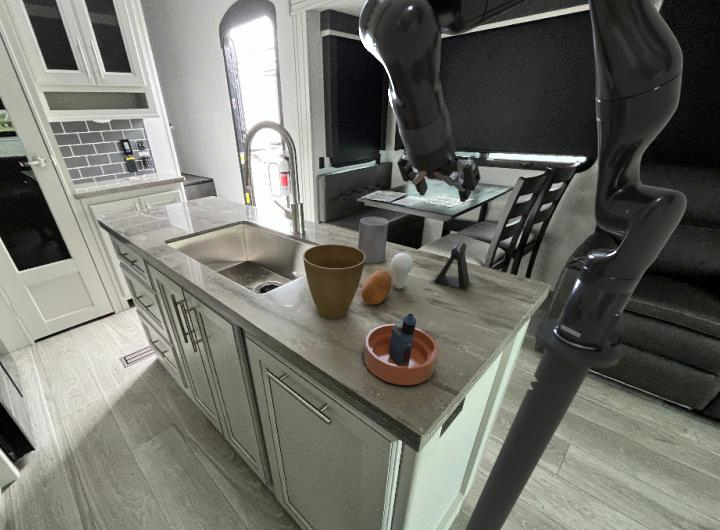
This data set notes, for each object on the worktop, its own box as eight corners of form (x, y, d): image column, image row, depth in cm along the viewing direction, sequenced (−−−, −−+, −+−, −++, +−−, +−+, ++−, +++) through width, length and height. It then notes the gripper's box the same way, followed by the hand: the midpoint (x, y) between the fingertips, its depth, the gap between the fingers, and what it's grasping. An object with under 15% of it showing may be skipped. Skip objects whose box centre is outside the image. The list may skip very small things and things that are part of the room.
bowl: (445, 361, 67) (450, 342, 65) (412, 400, 58) (416, 379, 56) (387, 334, 76) (389, 316, 73) (350, 364, 67) (351, 345, 64)
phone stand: (433, 282, 98) (441, 245, 92) (439, 275, 103) (446, 239, 97) (464, 290, 94) (474, 251, 88) (468, 282, 98) (478, 245, 92)
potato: (393, 289, 95) (399, 269, 90) (379, 313, 86) (384, 292, 81) (370, 282, 97) (375, 262, 93) (354, 304, 88) (358, 283, 83)
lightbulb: (410, 294, 92) (415, 258, 87) (388, 292, 93) (392, 256, 88) (408, 284, 97) (414, 250, 92) (388, 282, 98) (392, 248, 93)
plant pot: (299, 325, 79) (297, 265, 71) (309, 295, 92) (308, 242, 83) (360, 330, 77) (365, 269, 69) (362, 299, 90) (366, 245, 82)
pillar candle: (360, 252, 120) (362, 211, 112) (386, 255, 117) (391, 214, 110) (354, 262, 112) (356, 219, 104) (382, 265, 109) (387, 222, 102)
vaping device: (400, 370, 64) (408, 320, 58) (386, 354, 68) (392, 306, 62) (411, 366, 65) (420, 317, 59) (396, 351, 69) (403, 303, 63)
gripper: (482, 114, 48) (488, 183, 61) (398, 114, 56) (419, 175, 69) (460, 156, 47) (471, 217, 60) (378, 150, 56) (403, 205, 69)
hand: (443, 195), depth 65 cm, fingers open, 8 cm apart
